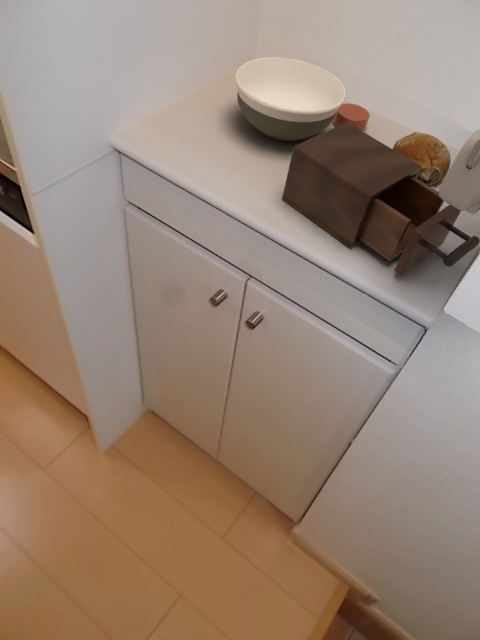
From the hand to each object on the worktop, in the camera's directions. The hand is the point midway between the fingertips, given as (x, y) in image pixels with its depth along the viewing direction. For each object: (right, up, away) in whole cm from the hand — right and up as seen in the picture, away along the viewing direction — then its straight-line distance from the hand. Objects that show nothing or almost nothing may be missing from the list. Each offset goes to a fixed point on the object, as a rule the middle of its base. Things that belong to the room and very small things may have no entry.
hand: (473, 207), depth 64 cm
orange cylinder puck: (-8, +22, +32) cm, 40 cm away
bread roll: (+1, +11, +25) cm, 27 cm away
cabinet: (-13, +3, +15) cm, 21 cm away
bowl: (-21, +20, +29) cm, 41 cm away
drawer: (-6, -3, +10) cm, 12 cm away
